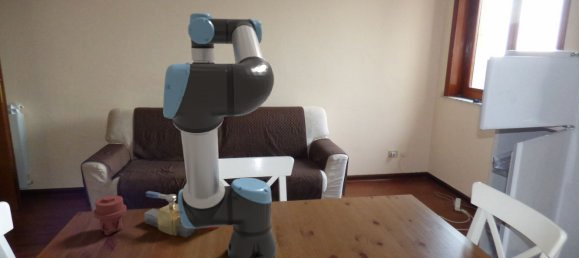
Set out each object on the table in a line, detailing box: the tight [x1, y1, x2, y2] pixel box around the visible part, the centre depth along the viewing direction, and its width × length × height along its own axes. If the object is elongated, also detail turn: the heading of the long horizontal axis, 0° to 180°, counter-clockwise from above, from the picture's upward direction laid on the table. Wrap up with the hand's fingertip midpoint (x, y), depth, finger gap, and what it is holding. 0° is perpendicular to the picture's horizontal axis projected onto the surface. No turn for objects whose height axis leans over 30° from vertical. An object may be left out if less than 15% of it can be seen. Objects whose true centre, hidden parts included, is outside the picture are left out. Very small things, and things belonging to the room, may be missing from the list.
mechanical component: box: [93, 194, 127, 236], centre depth 125 cm, size 12×10×10 cm
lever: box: [145, 190, 177, 203], centre depth 127 cm, size 3×12×1 cm, turn 71°
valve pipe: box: [143, 201, 196, 238], centre depth 128 cm, size 20×6×11 cm, turn 61°
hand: (206, 129), depth 129 cm, fingers closed
